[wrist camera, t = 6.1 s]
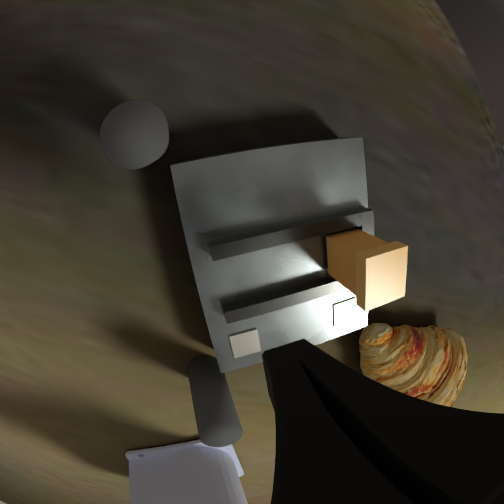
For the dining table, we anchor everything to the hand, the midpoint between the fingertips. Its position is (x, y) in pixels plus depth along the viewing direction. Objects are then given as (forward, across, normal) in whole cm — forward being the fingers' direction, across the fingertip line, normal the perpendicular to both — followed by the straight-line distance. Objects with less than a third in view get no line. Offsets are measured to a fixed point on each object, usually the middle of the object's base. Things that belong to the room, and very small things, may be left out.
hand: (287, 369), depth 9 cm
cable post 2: (+10, +3, +8) cm, 13 cm away
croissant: (+10, -16, +15) cm, 24 cm away
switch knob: (+7, -6, 0) cm, 9 cm away
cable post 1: (+10, +3, -8) cm, 13 cm away
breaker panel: (+10, -3, 0) cm, 10 cm away
